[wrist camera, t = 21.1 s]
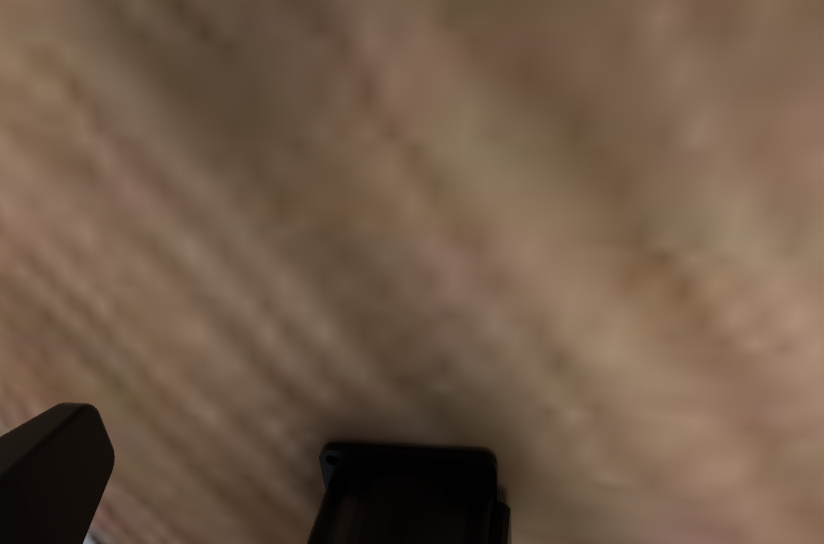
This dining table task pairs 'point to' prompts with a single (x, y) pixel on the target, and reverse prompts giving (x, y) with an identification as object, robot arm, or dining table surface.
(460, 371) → the dining table surface
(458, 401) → the dining table surface
